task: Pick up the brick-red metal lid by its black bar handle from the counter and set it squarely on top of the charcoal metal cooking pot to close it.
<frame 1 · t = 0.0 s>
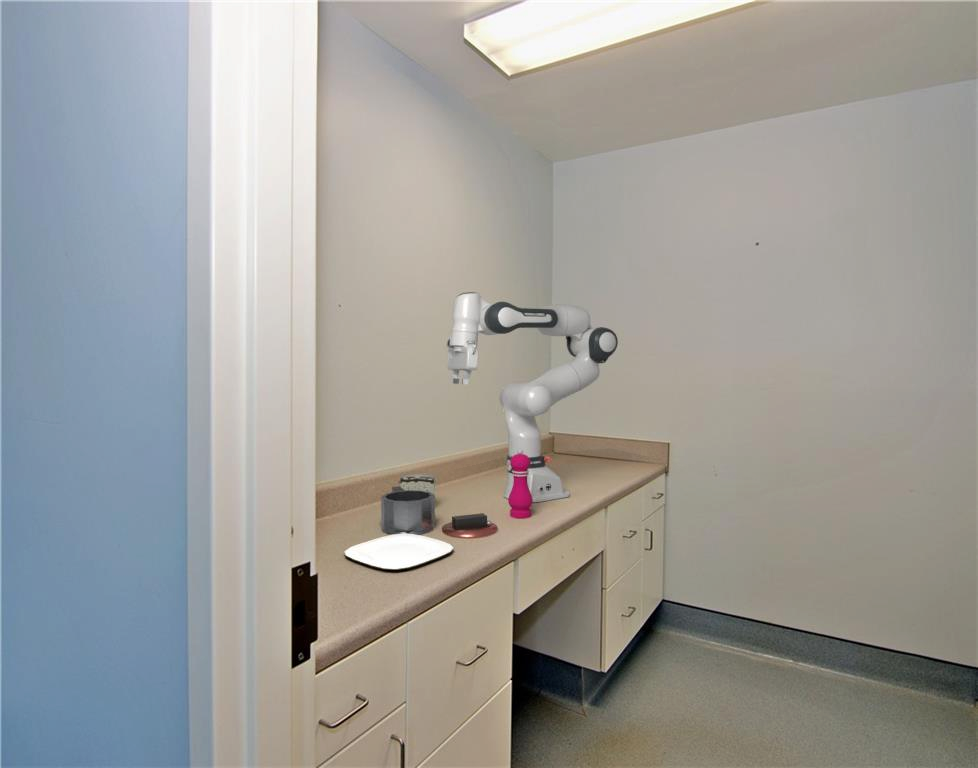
hand: (460, 384, 180), 39 cm above the countertop, tool pointing down, fingers open, 8 cm apart
plate: (399, 556, 131), on the countertop
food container: (419, 507, 176), on the countertop
pot: (408, 528, 152), on the countertop
pepper mill: (520, 516, 165), on the countertop
lid: (469, 531, 151), on the countertop
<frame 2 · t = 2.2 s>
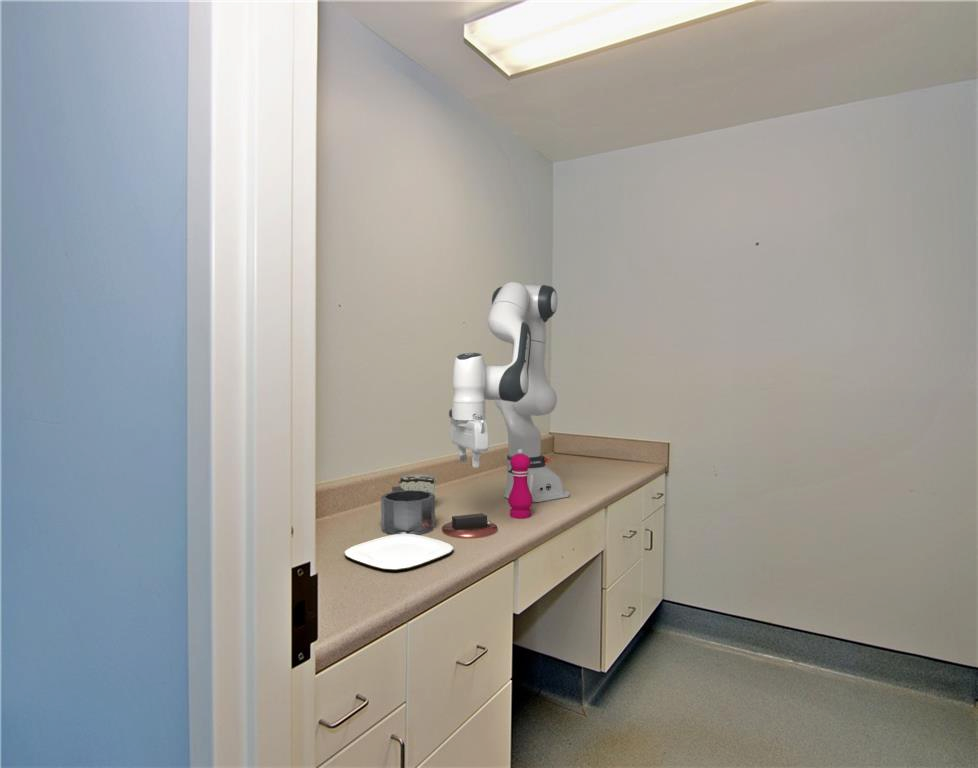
hand: (469, 464, 150), 18 cm above the countertop, tool pointing down, fingers open, 8 cm apart
nothing on the countertop moved.
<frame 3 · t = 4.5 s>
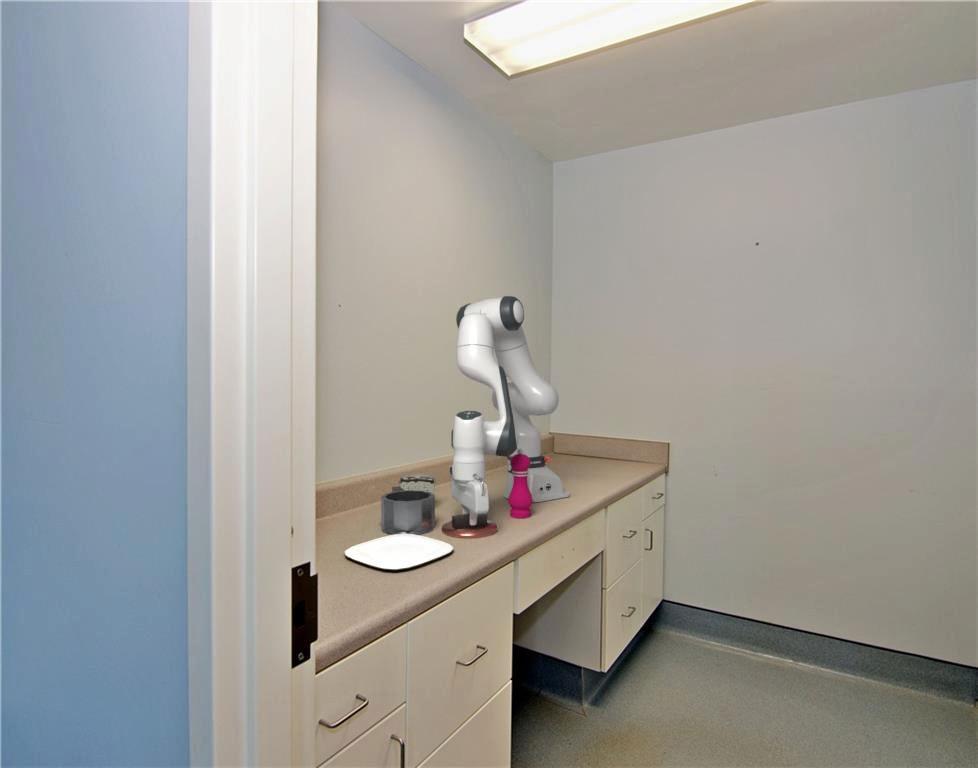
hand: (469, 522, 151), 2 cm above the countertop, tool pointing down, fingers closed on lid, 3 cm apart
lid: (469, 530, 151), on the countertop, touching gripper
everything else where it was.
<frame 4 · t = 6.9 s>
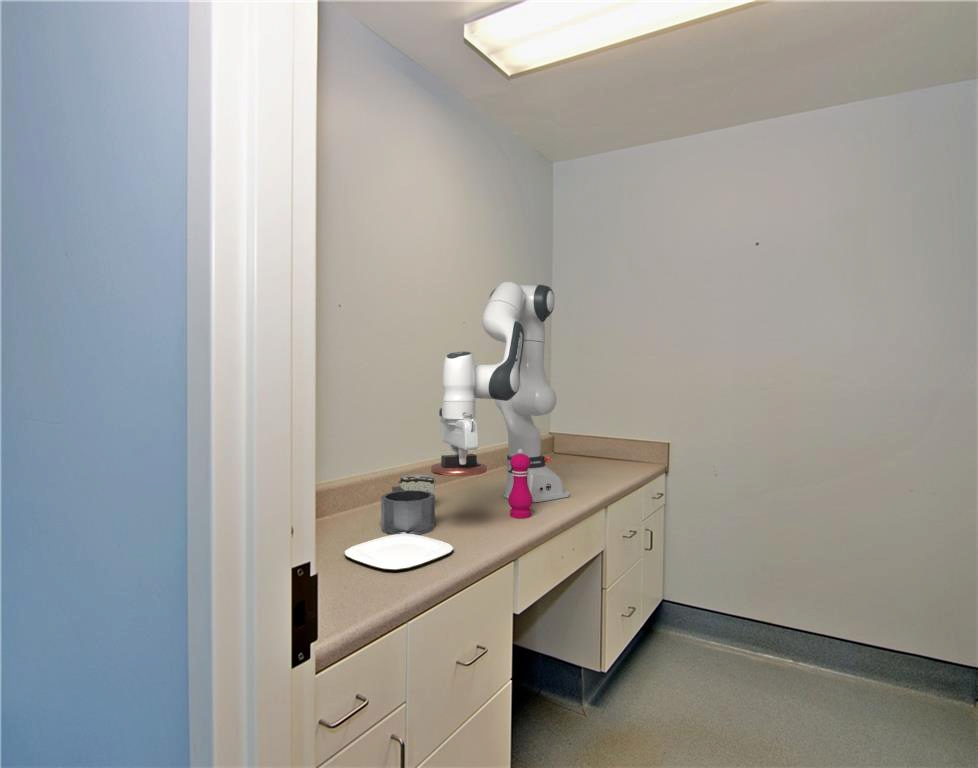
hand: (459, 462, 150), 18 cm above the countertop, tool pointing down, fingers closed on lid, 3 cm apart
lid: (459, 470, 150), point 16 cm above the countertop, touching gripper
everything else where it was.
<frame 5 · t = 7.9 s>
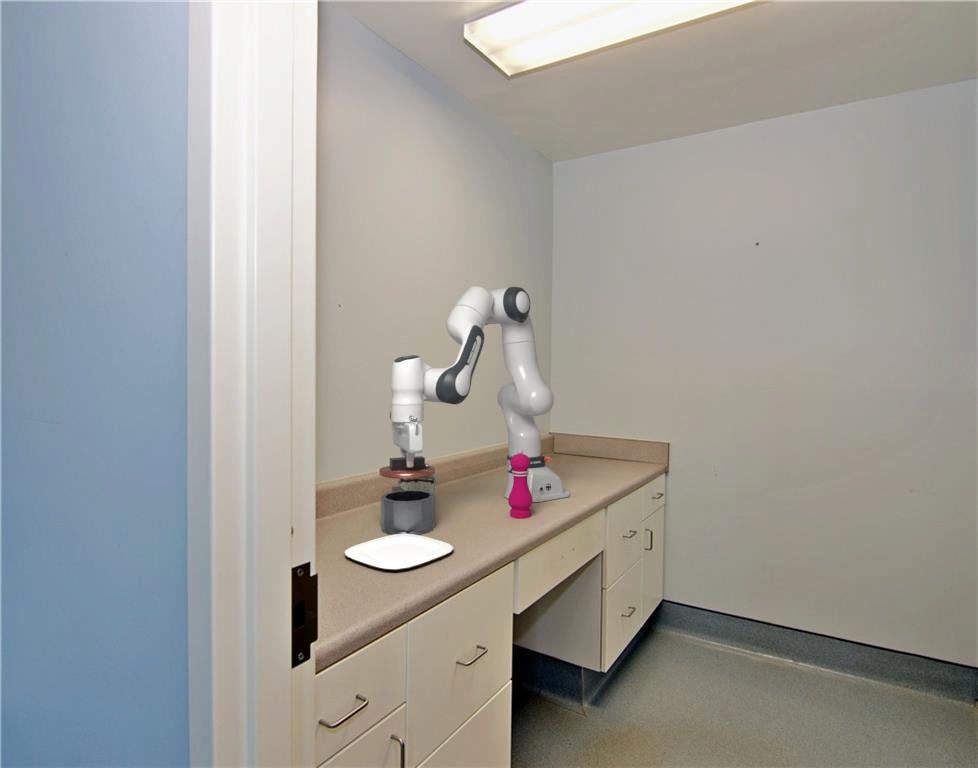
hand: (407, 465, 152), 17 cm above the countertop, tool pointing down, fingers closed on lid, 3 cm apart
lid: (407, 473, 152), point 15 cm above the countertop, touching gripper
everything else where it was.
when the fingers open (12 cm above the countertop, at t = 8.8 s): lid stays where it is, resting on pot.
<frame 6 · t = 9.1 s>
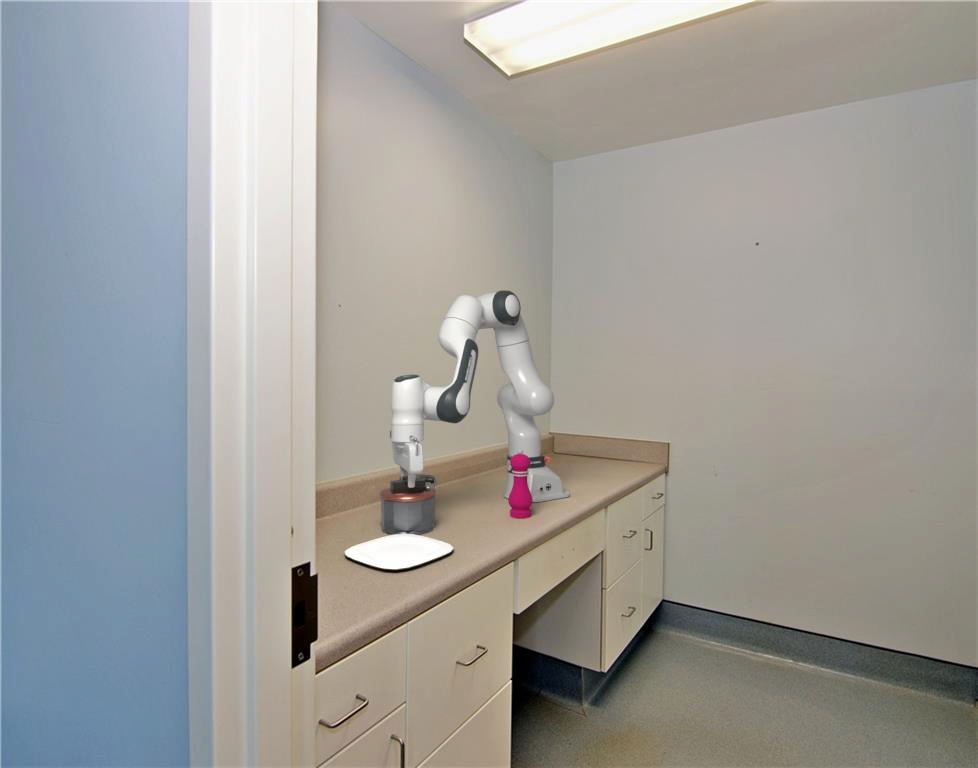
hand: (408, 484, 152), 12 cm above the countertop, tool pointing down, fingers open, 5 cm apart
lid: (408, 495, 152), point 9 cm above the countertop, touching pot
everything else where it was.
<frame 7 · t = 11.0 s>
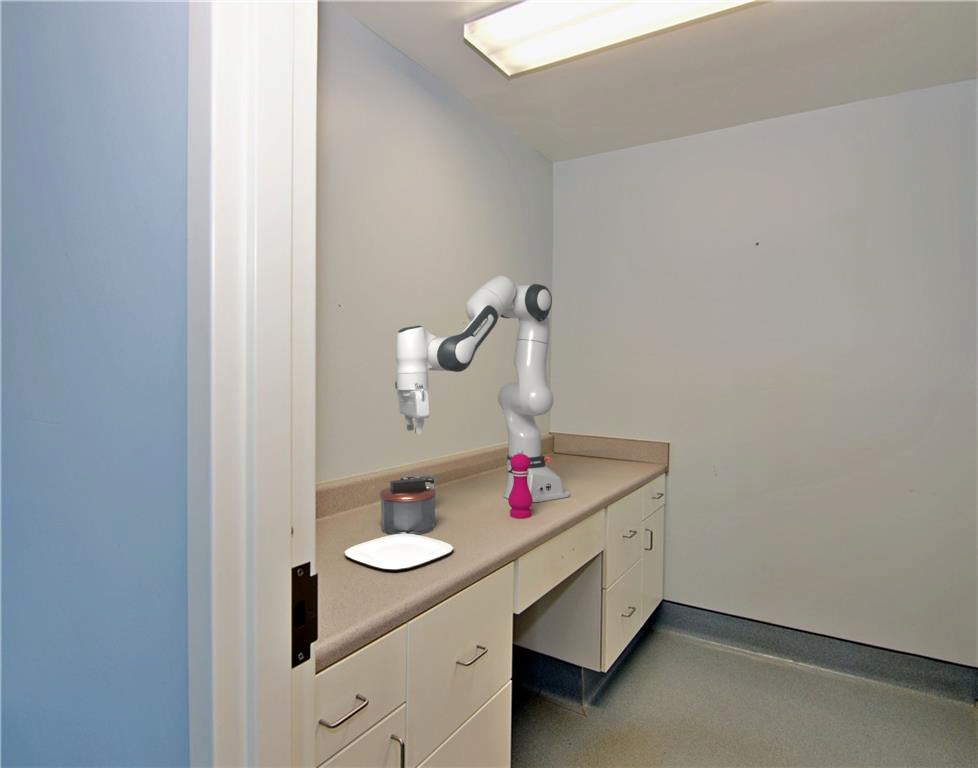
hand: (414, 432, 157), 26 cm above the countertop, tool pointing down, fingers open, 8 cm apart
nothing on the countertop moved.
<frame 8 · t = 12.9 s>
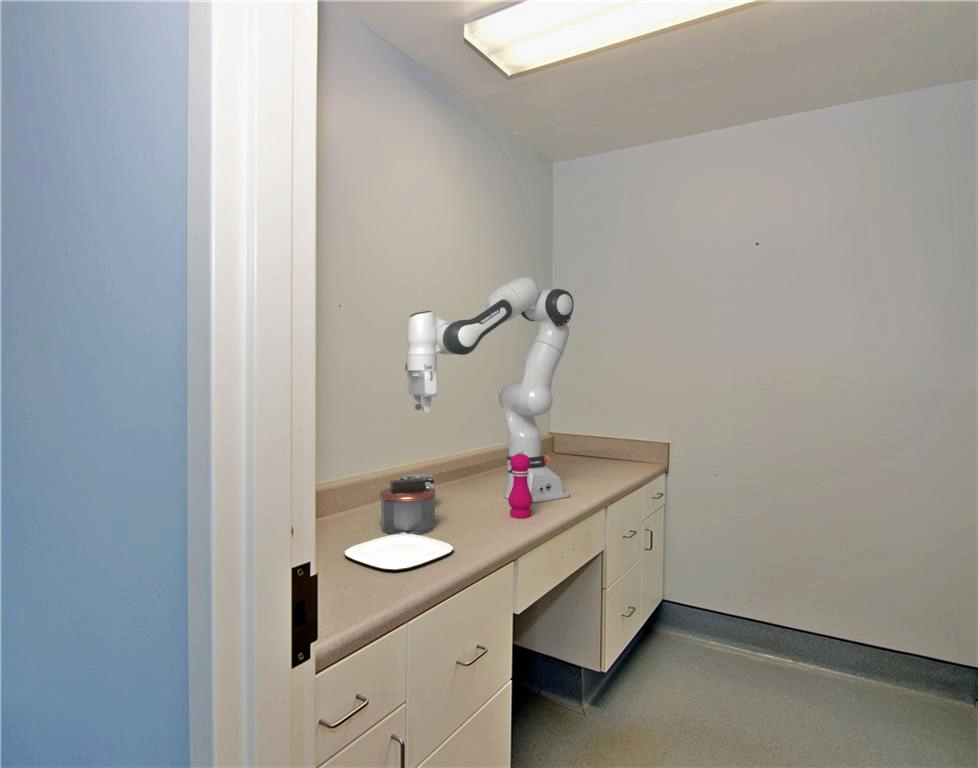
hand: (422, 410, 168), 31 cm above the countertop, tool pointing down, fingers open, 8 cm apart
nothing on the countertop moved.
at the end: lid 0.0 cm from the pot (horizontally); lid point 9.0 cm above the countertop; lid tilted 0° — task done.
